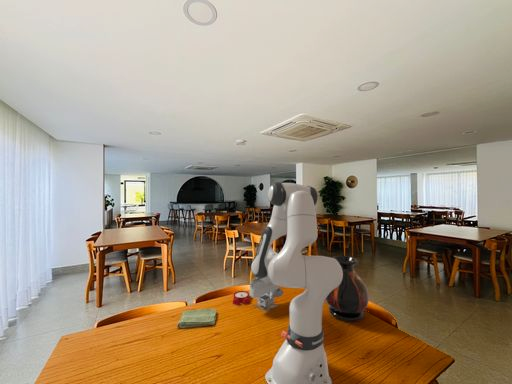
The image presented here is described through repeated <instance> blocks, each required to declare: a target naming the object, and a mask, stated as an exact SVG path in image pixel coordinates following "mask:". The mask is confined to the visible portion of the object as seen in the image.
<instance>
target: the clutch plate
mask: <svg viewBox="0 0 512 384" xmlns="http://www.w3.org/2000/svg"><path fill="white" fill-rule="evenodd" d="M256 299H257V298H256ZM260 299H261V300H262V303H261V304H260V305H262V306H264V307H267V306H269V305H271V304H273V303H274V304H275V300H274V299H275V298H274V297H271V296H269V295H267V294H264V295H261V298H260ZM256 301H257V303H258V299H257V300H256ZM257 303H256V304H257ZM258 304H259V303H258Z"/></svg>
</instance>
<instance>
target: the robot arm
mask: <svg viewBox="0 0 512 384" xmlns="http://www.w3.org/2000/svg"><path fill="white" fill-rule="evenodd" d="M267 197H268V202H269V203H270V204H271V205H273V208H272V212H271V217H270V220H269V222H268V224H267V226H266V227H264V229H263V231H262V232H261V236H260V238H259V242H258V245H257V249H256V252H255V255H254V257H253V259H252V261H251V265H250V270H251V273H252V275H253V276H255V278H253V279H252V280H251V281H250V286H249V292H248V293H249V297H251V298H253V299H258V303H259V304H261V303H262V300H261V299H260V298H261V296H262V295H264V294H266V293H269V292H270V295H269V296H271V297H273V294H274V290H276V289H279V287H282V288H290V289H293V288H294V289H305V290H304V291H303V292H302V293H300V294H298V295H296V296H294V297H293V299H292V300H290V303H289V307H288V311H289V324H288V327H287V331H285V330H282V331H281V334H280V337H282V338H283V339H284V342H283V343H282V344H281V347H280V348H279V350H278V352H277V353H276V355H275V356H274V357H273V361H272V366H271V368H270V369H269V370H268V371H267V372H266V373H265V375H264V379H266V380H265V382H266V381H267V383H268V384H325V383H326V384H333V381H332V379H331V377H330V375H329V374H330V373H329V366H328V357H327V353H326V349H325V347H324V338H325V337H324V336H325V334H324V329H323V326H322V324H323V321H322V320H323V309H324V304H325V302H326V301H325V300H326V298H327V296H328V295H329V294H330V293H331V292H332V291H333V290H334V289H335V288H337V287H338V286H339V285H340V284H341V282H342V278H343V271H342V268H341V265H340V264H339V262H338V261H337V260H336V259H334V258H332V257H330V256H324V255H305V254H302V250H303V249H304V248H306V247H309V246H310V245H312V244H314V243H315V242H316V240H317V239H318V236H319V235H318V222H317V221H318V220H317V213H316V207H315V206H316V204H317V202H318V200H319V198H318V192H317V190H316V188H315V187H312V186H309V185H304V184H298V183H295V182H281V181H276V182H273V183H272V184H270V186H269V189H268V191H267ZM285 235H286V239H285V243H284V245H283V247H282V249H281V250H280V251H279V252H276V251H275V250H274V249H273V246H272V244H273V243H274V242H275V241H276V240H277V239H280V238H281V237H283V236H285ZM269 381H271V382H269ZM267 383H266V384H267Z"/></svg>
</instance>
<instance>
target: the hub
mask: <svg viewBox="0 0 512 384" xmlns="http://www.w3.org/2000/svg"><path fill="white" fill-rule="evenodd" d="M280 287H281V286H280ZM280 287H279V289H276V290H274V294H273V297H274V299H275V298H279V297H282V295H284V290H283V289H281V288H280ZM266 294H267V295H270V292H269V293H266Z"/></svg>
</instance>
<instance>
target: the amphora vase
mask: <svg viewBox="0 0 512 384" xmlns="http://www.w3.org/2000/svg"><path fill="white" fill-rule="evenodd" d="M331 258H334V259H336V260H337V261H338V262H339V264H340V265H341V268H342V271H343V278H342V282H341V284H340V285H339V286H338V287H337V288H335V289H334V290H333V291H332V292H331V293H330V294H329V295H328V296H327V298H326V300H325V302H326V304H327V305H328V312H329V313H330V315H331V316H333V318H335V319H338V320H340V321H344V322H347V323H349V322H350V323H354V322H359V321H361V320H362V319H363V318H364V316H365V315H364V311H365V310H366V308H367V307H368V304H369V300H370V299H369V292H368V287H367V285H366V284H365V281H364V280H363V279H362V278H361V277H360V275H358V274H357V272H356V270H355V269H354V266H355V265H357V264H358V263H359V261H358V260H357V259H356V258H354V257H351V256H346V255H345V256H344V255H343V256H342V255H337V256H336V255H335V256H333V257H331Z"/></svg>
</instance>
